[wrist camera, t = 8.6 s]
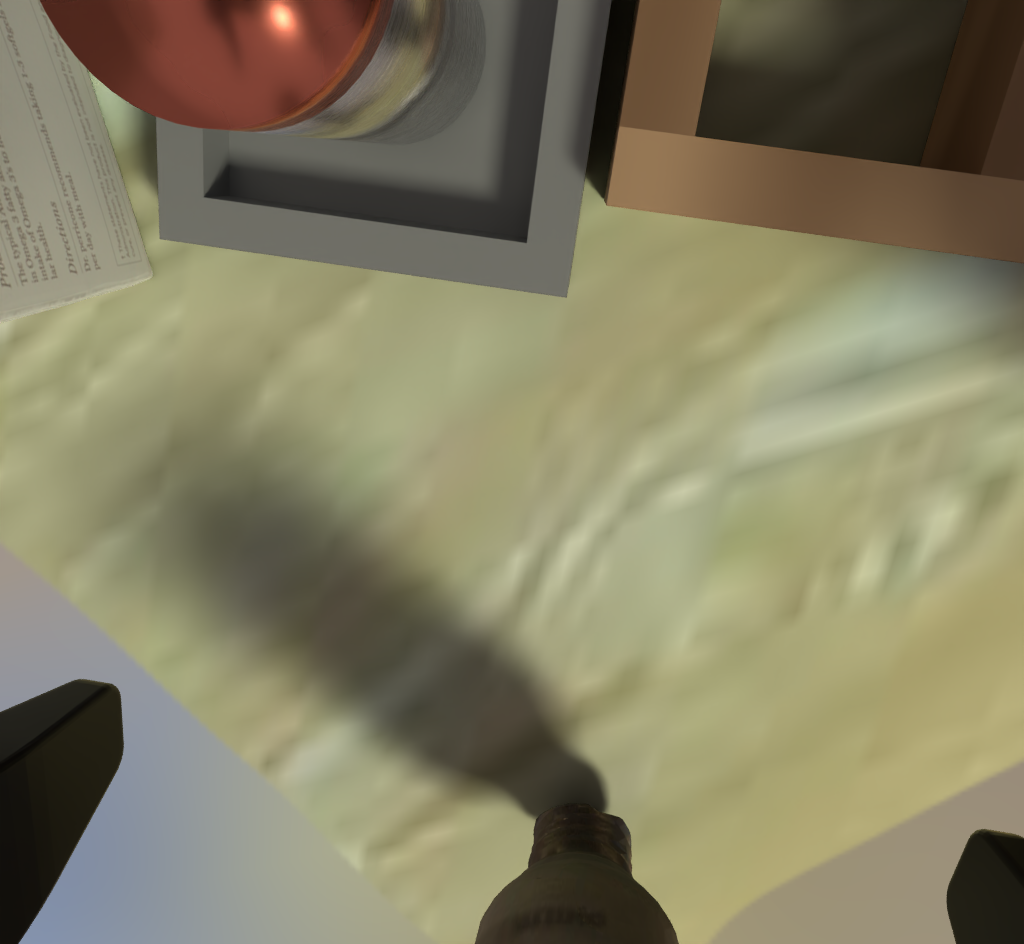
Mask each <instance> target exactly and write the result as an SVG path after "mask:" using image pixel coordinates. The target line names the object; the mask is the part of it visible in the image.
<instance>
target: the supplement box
mask: <svg viewBox="0 0 1024 944" xmlns="http://www.w3.org/2000/svg"><path fill="white" fill-rule="evenodd" d="M152 276H153V272H152V269H151V265H150V262H149V259H148V256H147V254H146V251H145V248H144V244H143V241H142V238H141V235H140V232H139V228H138V225H137V222H136V219H135V216H134V213H133V210H132V206H131V203H130V200H129V197H128V194H127V191H126V188H125V185H124V182H123V179H122V176H121V173H120V170H119V167H118V163H117V160H116V157H115V154H114V151H113V148H112V145H111V142H110V139H109V136H108V133H107V129H106V126H105V123H104V120H103V117H102V114H101V111H100V108H99V105H98V102H97V99H96V95H95V92H94V89H93V86H92V83H91V80H90V77H89V74H88V71H87V68H86V67H85V66H84V65H83V64H82V63H81V62H80V61H79V60H78V59H77V57H76V56H75V55H74V54H73V52H72V51H71V50H70V48H69V47H68V46H67V44H66V43H65V42H64V41H63V39H62V38H61V37H60V35H59V34H58V32H57V30H56V29H55V27H54V25H53V24H52V22H51V21H50V19H49V17H48V16H47V14H46V12H45V10H44V8H43V6H42V4H41V2H40V0H0V323H4V322H7V321H11V320H14V319H18V318H22V317H25V316H29V315H32V314H36V313H39V312H43V311H47V310H51V309H55V308H58V307H62V306H66V305H69V304H72V303H76V302H79V301H82V300H85V299H88V298H91V297H95V296H98V295H102V294H105V293H109V292H113V291H116V290H120V289H123V288H127V287H130V286H133V285H136V284H139V283H141V282H144V281H146V280H149V279H151V278H152Z"/></svg>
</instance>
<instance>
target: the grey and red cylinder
mask: <svg viewBox="0 0 1024 944" xmlns="http://www.w3.org/2000/svg"><path fill="white" fill-rule="evenodd" d="M40 2H41V4H42V6H43V8H44V10H45V12H46V14H47V16H48V17H49V19H50V21H51V22H52V24H53V25H54V27H55V29H56V30H57V32H58V34H59V35H60V37H61V38H62V39H63V41H64V42H65V43H66V44H67V46H68V47H69V48H70V50H71V51H72V52H73V54H74V55H75V56H76V57H77V59H78V60H79V61H80V62H81V63H82V64H83V65H84V66H85V67H86V68H87V69H88V70H89V71H90V72H91V73H92V74H93V75H94V76H95V77H96V78H97V79H98V80H99V81H101V82H102V83H103V84H104V85H105V86H107V87H108V88H109V89H110V90H111V91H112V92H114V93H115V94H117V95H118V96H120V97H121V98H123V99H124V100H126V101H127V102H129V103H130V104H132V105H133V106H135V107H137V108H139V109H141V110H143V111H145V112H147V113H149V114H151V115H153V116H156V117H159V118H162V119H164V120H167V121H170V122H173V123H176V124H181V125H186V126H191V127H196V128H205V129H216V130H228V131H239V132H251V133H262V134H274V135H286V136H297V137H309V138H320V139H332V140H343V141H355V142H366V143H378V144H391V145H403V144H412V143H416V142H420V141H423V140H426V139H428V138H431V137H433V136H435V135H436V134H438V133H440V132H442V131H443V130H444V129H446V128H447V127H448V126H450V125H451V124H452V123H453V122H454V121H455V120H456V119H457V118H458V117H459V116H460V115H461V114H462V112H463V111H464V110H465V108H466V107H467V106H468V104H469V103H470V101H471V99H472V97H473V96H474V94H475V92H476V89H477V87H478V84H479V82H480V79H481V75H482V72H483V68H484V62H485V56H486V30H485V22H484V17H483V12H482V9H481V6H480V3H479V0H40Z"/></svg>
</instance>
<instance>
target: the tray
mask: <svg viewBox="0 0 1024 944" xmlns="http://www.w3.org/2000/svg"><path fill="white" fill-rule="evenodd" d="M479 3H480V6H481V9H482V12H483V17H484V22H485V30H486V56H485V62H484V68H483V72H482V75H481V79H480V82H479V84H478V87H477V89H476V92H475V94H474V96H473V97H472V99H471V101H470V103H469V104H468V106H467V107H466V108H465V110H464V111H463V112H462V114H461V115H460V116H459V117H458V118H457V119H456V120H455V121H454V122H453V123H452V124H451V125H450V126H448V127H447V128H446V129H444V130H443V131H442V132H440V133H438V134H436V135H435V136H433V137H431V138H428V139H426V140H423V141H420V142H416V143H412V144H403V145H391V144H378V143H366V142H355V141H343V140H332V139H320V138H309V137H297V136H286V135H274V134H262V133H251V132H239V131H228V130H216V129H205V128H196V127H191V126H186V125H181V124H176V123H173V122H170V121H167V120H164V119H162V118H159V117H156V134H157V167H158V200H159V233H160V239H163V240H170V241H177V242H184V243H191V244H198V245H205V246H212V247H219V248H226V249H232V250H239V251H246V252H253V253H260V254H267V255H274V256H281V257H288V258H295V259H302V260H309V261H316V262H323V263H330V264H337V265H344V266H351V267H358V268H365V269H371V270H378V271H385V272H392V273H399V274H406V275H413V276H420V277H427V278H434V279H441V280H448V281H455V282H462V283H469V284H476V285H483V286H490V287H497V288H503V289H510V290H517V291H524V292H531V293H538V294H545V295H552V296H559V297H566V298H567V293H568V287H569V281H570V275H571V268H572V261H573V255H574V248H575V241H576V235H577V228H578V222H579V215H580V208H581V202H582V195H583V189H584V182H585V175H586V169H587V162H588V156H589V149H590V142H591V136H592V129H593V123H594V116H595V109H596V103H597V96H598V90H599V83H600V76H601V70H602V63H603V56H604V50H605V43H606V37H607V30H608V23H609V17H610V10H611V4H612V0H479Z"/></svg>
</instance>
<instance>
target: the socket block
mask: <svg viewBox="0 0 1024 944" xmlns="http://www.w3.org/2000/svg"><path fill="white" fill-rule="evenodd" d="M720 5H721V0H636V5H635V11H634V18H633V24H632V30H631V36H630V42H629V49H628V55H627V61H626V67H625V73H624V80H623V86H622V92H621V98H620V105H619V111H618V117H617V123H616V129H615V136H614V142H613V148H612V154H611V160H610V167H609V173H608V179H607V185H606V192H605V198H604V201H605V203H606V205H607V206H614V207H621V208H629V209H636V210H643V211H650V212H657V213H665V214H672V215H679V216H686V217H693V218H701V219H708V220H715V221H722V222H729V223H737V224H744V225H751V226H758V227H765V228H773V229H780V230H787V231H794V232H801V233H809V234H816V235H823V236H830V237H837V238H845V239H852V240H859V241H866V242H873V243H881V244H888V245H895V246H902V247H909V248H917V249H924V250H931V251H938V252H945V253H953V254H960V255H967V256H974V257H981V258H989V259H996V260H1003V261H1010V262H1017V263H1024V0H968V3H967V6H966V9H965V13H964V16H963V20H962V23H961V27H960V30H959V33H958V37H957V40H956V44H955V47H954V51H953V54H952V57H951V61H950V64H949V68H948V71H947V74H946V78H945V81H944V85H943V88H942V92H941V95H940V98H939V102H938V105H937V109H936V112H935V116H934V119H933V122H932V126H931V129H930V133H929V136H928V139H927V143H926V146H925V150H924V153H923V157H922V160H921V163H920V167H917V166H910V165H903V164H895V163H888V162H880V161H873V160H865V159H858V158H851V157H843V156H836V155H828V154H821V153H814V152H806V151H799V150H791V149H784V148H776V147H769V146H762V145H754V144H747V143H739V142H732V141H725V140H717V139H710V138H702V137H695V133H696V128H697V123H698V118H699V113H700V108H701V103H702V97H703V92H704V87H705V82H706V77H707V72H708V67H709V62H710V56H711V51H712V46H713V41H714V36H715V31H716V26H717V20H718V15H719V10H720Z"/></svg>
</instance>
